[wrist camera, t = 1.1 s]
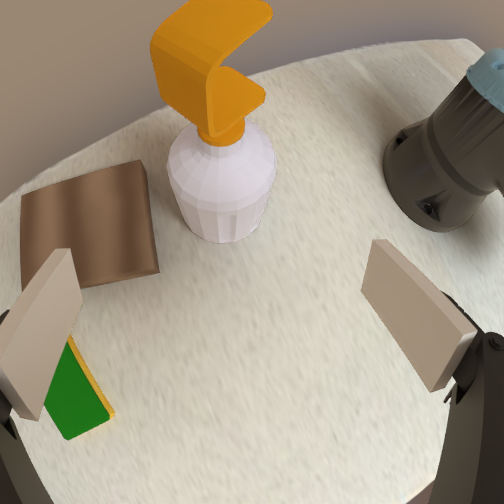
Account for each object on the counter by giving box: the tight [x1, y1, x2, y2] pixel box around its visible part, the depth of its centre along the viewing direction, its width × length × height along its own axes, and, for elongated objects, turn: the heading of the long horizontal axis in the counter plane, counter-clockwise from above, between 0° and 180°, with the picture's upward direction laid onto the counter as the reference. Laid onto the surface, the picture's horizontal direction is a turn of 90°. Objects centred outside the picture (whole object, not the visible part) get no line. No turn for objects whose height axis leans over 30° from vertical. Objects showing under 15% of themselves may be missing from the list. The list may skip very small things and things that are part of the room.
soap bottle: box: [150, 0, 277, 244], centre depth 22 cm, size 9×9×25 cm
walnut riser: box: [20, 160, 160, 292], centre depth 31 cm, size 16×12×3 cm
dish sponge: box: [44, 335, 115, 440], centre depth 28 cm, size 7×14×2 cm, turn 33°
